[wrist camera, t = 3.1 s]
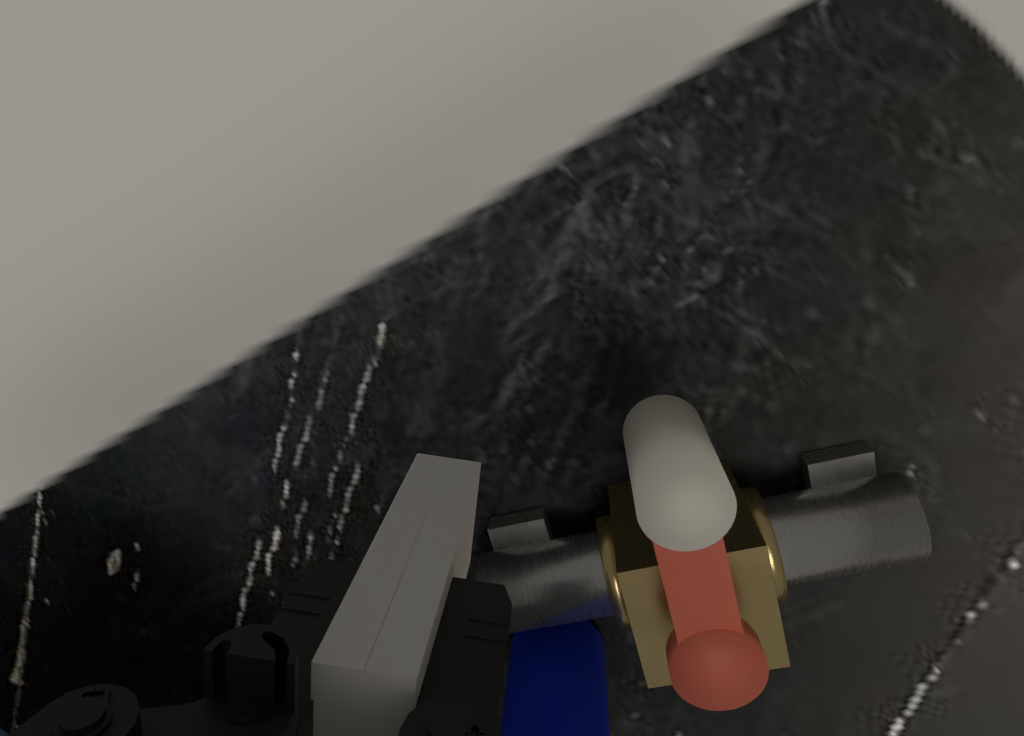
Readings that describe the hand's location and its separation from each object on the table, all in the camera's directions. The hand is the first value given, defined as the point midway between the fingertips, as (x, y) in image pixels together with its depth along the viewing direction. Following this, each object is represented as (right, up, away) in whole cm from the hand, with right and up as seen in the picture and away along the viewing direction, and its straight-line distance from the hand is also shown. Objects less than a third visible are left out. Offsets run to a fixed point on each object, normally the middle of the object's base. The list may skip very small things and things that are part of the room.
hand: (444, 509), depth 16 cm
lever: (+8, -3, +9) cm, 13 cm away
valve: (+10, -5, +19) cm, 22 cm away
